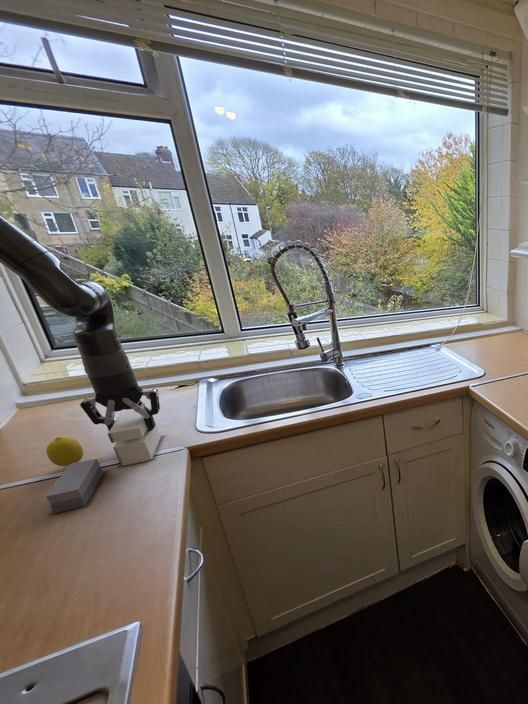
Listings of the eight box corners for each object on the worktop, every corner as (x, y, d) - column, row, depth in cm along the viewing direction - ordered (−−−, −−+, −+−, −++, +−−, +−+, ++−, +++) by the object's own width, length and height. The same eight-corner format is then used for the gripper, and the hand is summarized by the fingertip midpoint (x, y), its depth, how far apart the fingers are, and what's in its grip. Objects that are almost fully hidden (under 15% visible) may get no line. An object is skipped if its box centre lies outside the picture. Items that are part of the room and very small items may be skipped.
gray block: (54, 513, 81) (45, 497, 80) (76, 478, 92) (69, 463, 90) (85, 506, 84) (77, 490, 82) (103, 472, 94) (96, 458, 92)
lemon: (82, 457, 99) (68, 429, 96) (93, 463, 97) (79, 434, 94) (51, 469, 95) (35, 439, 91) (61, 476, 92) (46, 446, 89)
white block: (121, 466, 96) (113, 447, 94) (133, 442, 106) (126, 425, 104) (151, 459, 99) (144, 441, 97) (160, 437, 108) (154, 420, 106)
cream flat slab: (111, 443, 94) (107, 433, 93) (124, 421, 103) (120, 412, 102) (142, 437, 96) (139, 427, 95) (152, 416, 106) (149, 407, 105)
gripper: (152, 359, 100) (173, 420, 107) (72, 369, 93) (100, 433, 100) (146, 369, 94) (169, 432, 101) (60, 380, 87) (90, 447, 94)
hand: (134, 432), depth 100 cm, fingers closed on cream flat slab, 5 cm apart
